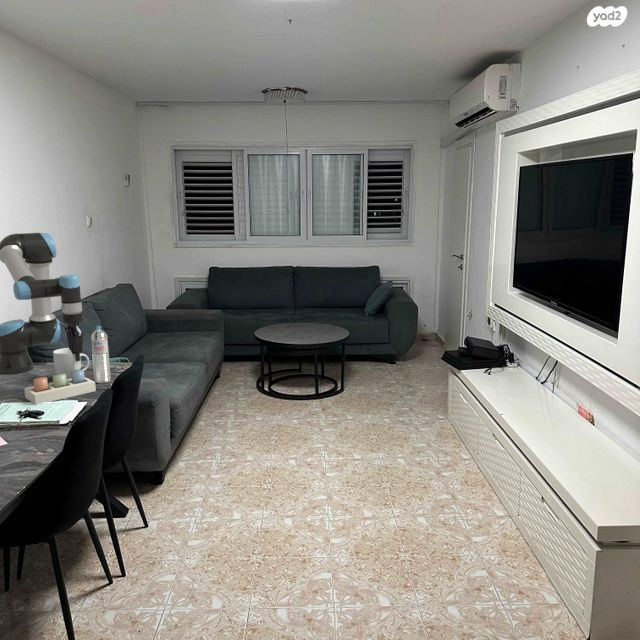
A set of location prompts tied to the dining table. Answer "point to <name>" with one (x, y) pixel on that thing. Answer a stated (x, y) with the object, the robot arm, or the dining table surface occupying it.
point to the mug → (66, 362)
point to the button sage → (59, 380)
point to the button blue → (77, 376)
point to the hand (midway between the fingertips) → (77, 368)
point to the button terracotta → (40, 384)
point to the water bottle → (100, 356)
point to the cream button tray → (59, 391)
